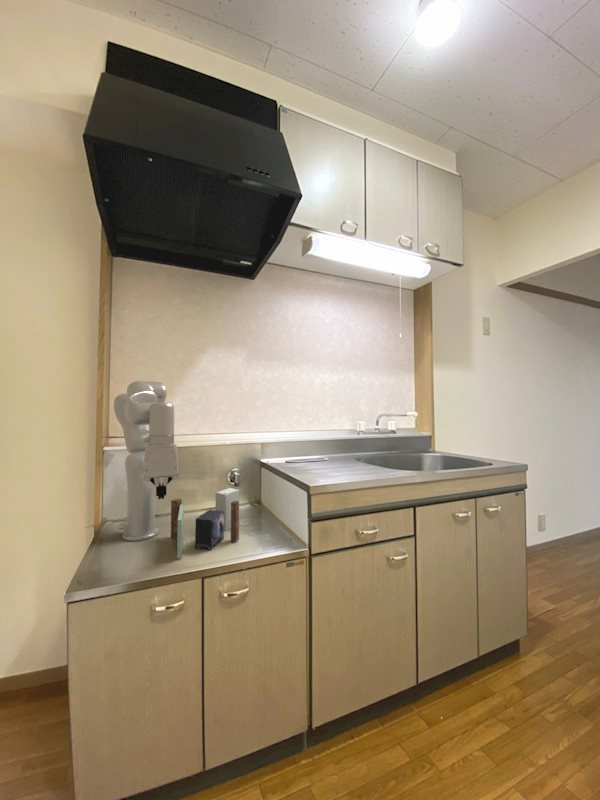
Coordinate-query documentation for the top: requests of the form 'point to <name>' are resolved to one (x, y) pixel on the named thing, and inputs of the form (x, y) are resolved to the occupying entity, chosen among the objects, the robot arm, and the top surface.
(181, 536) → the door
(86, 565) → the top surface
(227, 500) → the skincare box
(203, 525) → the small box
